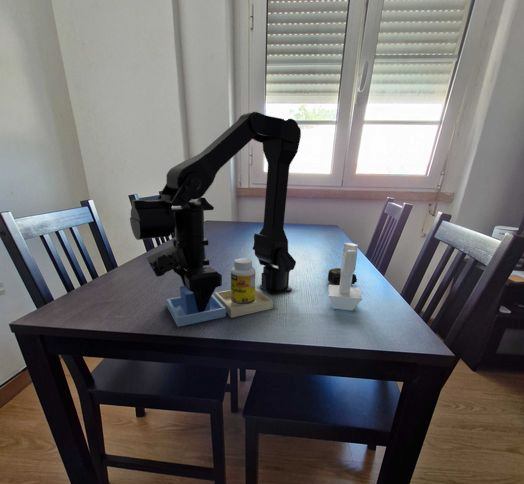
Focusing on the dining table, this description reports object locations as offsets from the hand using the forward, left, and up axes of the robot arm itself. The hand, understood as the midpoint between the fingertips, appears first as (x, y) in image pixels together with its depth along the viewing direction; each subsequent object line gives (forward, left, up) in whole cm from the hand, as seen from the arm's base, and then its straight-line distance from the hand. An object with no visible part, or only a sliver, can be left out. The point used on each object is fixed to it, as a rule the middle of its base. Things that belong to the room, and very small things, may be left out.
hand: (195, 305), depth 62 cm
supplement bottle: (-11, +1, -1) cm, 11 cm away
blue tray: (0, 0, -2) cm, 2 cm away
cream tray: (-11, +1, -2) cm, 11 cm away
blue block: (0, 0, -1) cm, 1 cm away
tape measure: (-42, +1, -2) cm, 42 cm away
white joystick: (-32, +12, -2) cm, 34 cm away
